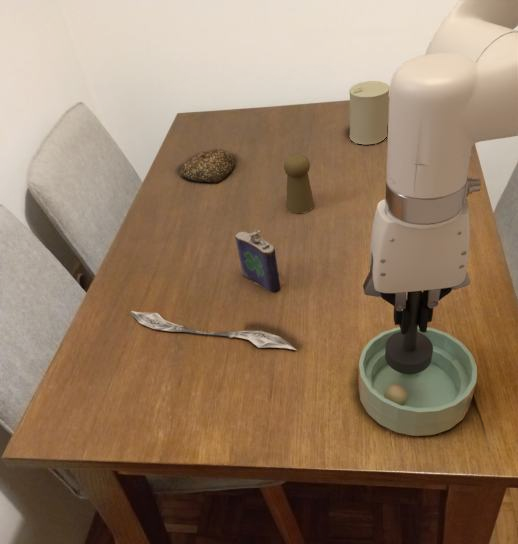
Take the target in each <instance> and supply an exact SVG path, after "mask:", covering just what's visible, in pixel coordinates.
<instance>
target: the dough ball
mask: <svg viewBox="0 0 518 544" xmlns="http://www.w3.org/2000/svg"><path fill="white" fill-rule="evenodd" d="M385 398H386V399H388V400H390V401H393V402H395V403H397V404H399V405H402V404H403V403H404V402H405V401H406V399H407V391H406V389H405V388H404V387H403V386H401V385H399V384H393V385H390V386H389V387H388V388H387V389H386V391H385Z"/></svg>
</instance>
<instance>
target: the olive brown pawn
mask: <svg viewBox="0 0 518 544" xmlns="http://www.w3.org/2000/svg"><path fill="white" fill-rule="evenodd" d="M310 167H311V163H310V160H309V158H308V157H307V156H306V155H304V154H300V153H296V154H292V155H289V156H288V157H286V158H285V160H284V164H283V169H284V172H285V174H286V177H287V178H286V181H287V182H286V196H285V199H286V200H285V208H287V209H286V211H287V212H289V211H290V212H289V213H291V212H293V213H292V214H294V213H302V214H304V213H303V212H306V211H309V210H310V209H311V208H312V207H313V206H314V207H315V202H314V201H315V200H314V195H313V191H312V187H311V181H310V177H309V171H310ZM314 207H313V208H314ZM310 211H311V210H310ZM310 211H309V212H310ZM306 213H307V212H306Z"/></svg>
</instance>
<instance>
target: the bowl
mask: <svg viewBox="0 0 518 544" xmlns="http://www.w3.org/2000/svg"><path fill="white" fill-rule="evenodd" d="M400 331H401V330H400V326H397V327H393V328H391V329H387V330H384V331H382V332H380V333H379V334H377V335H376V336H374V337H372V338H371V339H370V340H369V341H368V342H367V344H366V345H365V346H364V348H363V349H362V351H361V354H360V357H359V362H358V383H357V385H358V386H357V387H358V394H359V400H360V403H361V405H362V406H363V408H364V410H365V411H366V413H367V415H369V416H370V417H371V418H372V419H373V420H374V421H376V423H378V424H379V425H380V426H382V427H384V428H386V429H388V430H390V431H393V432H394V433H398V434H402V435H407V436H412V437H420V436H421V437H422V436H434V435H437V434H441V433H443V432H446V431H449V430H451V429H452V428H453V427H455V426H456V425H457V424H459V423H460V422H461V421H463V419H464V418H465V416H466V415H467V413H468V411H469V409H470V407H471V403H472V400H473V396H474V392H475V390H476V389H475V388H476V384H477V381H478V380H477V379H478V366H477V363H476V360H475V358H474V355H473V354H472V353H471V351H470V350H469V349H468V348H467V347H466V345H465V344H464V343H463V342H462V341H461V340H458V338H456V337H454V336H453V335H451V334H450V333H447V332H444V331H442V330H439V329H436V328H434V327H428V326H427V332H424V333H422V332H420V330H419V326H418V330H417V332H419V333H422V334H423V335H425V336H426V337H428V338H429V340H430V341H431V343H432V345H433V353H432V360H431V363H430V365H429V366H428V367H427V368H426V369H425V370H424V371H422V372H419V373H416V374H404V373H400V372H397V371H395V370H394V369H392V368H391V367H390V366H389V365H388V363H387V362H386V359H385V348H386V342H387V340H388V339H389V337H391V336H392V335H393V334H395V333H397V332H400ZM393 384H399V385H401V386H403V387H404V388H405V389H406V391H407V399H406V401H405V402H404V403H403V404H402V405H399V404H397V403H395V402H393V401H390V400H388V399H386V398H385V391H386V389H387V388H388V387H389V386H390V385H393Z"/></svg>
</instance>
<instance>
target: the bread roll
mask: <svg viewBox="0 0 518 544" xmlns="http://www.w3.org/2000/svg"><path fill="white" fill-rule="evenodd" d="M235 164H236V161H235V158H234V155H232V154H231V153H229V151H228V152H227V151H223V150H222V149H217V148H213V149H208V150H206V151H204V150H203V151H201V152H199V153H198V154H197V155H196V156H194V157H192V159H190V160H189V161H187V162H186V163H184V164H183V165H182V167H181V169H180V175H181V176H182V177H183V178H185V179H187V180H190V181H195V182H200V183H211V184H213V183H212V182H215V183H219V182H221V181H223V180H224V179H226V178H227V177H228V176H229V175H230V174H231V173H232V172H233V169H234V167H235ZM231 171H232V172H231ZM230 172H231V173H230ZM229 173H230V174H229ZM228 174H229V175H228ZM225 177H226V178H225ZM223 178H224V179H223Z"/></svg>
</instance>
